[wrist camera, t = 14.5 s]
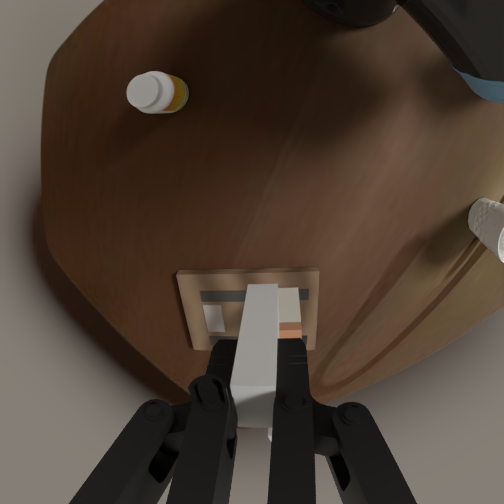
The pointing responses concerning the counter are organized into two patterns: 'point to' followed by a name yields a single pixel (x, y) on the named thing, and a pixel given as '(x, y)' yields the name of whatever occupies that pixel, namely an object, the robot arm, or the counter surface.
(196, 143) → the counter surface
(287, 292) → the tab
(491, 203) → the white cup
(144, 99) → the supplement bottle
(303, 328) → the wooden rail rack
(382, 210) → the counter surface
